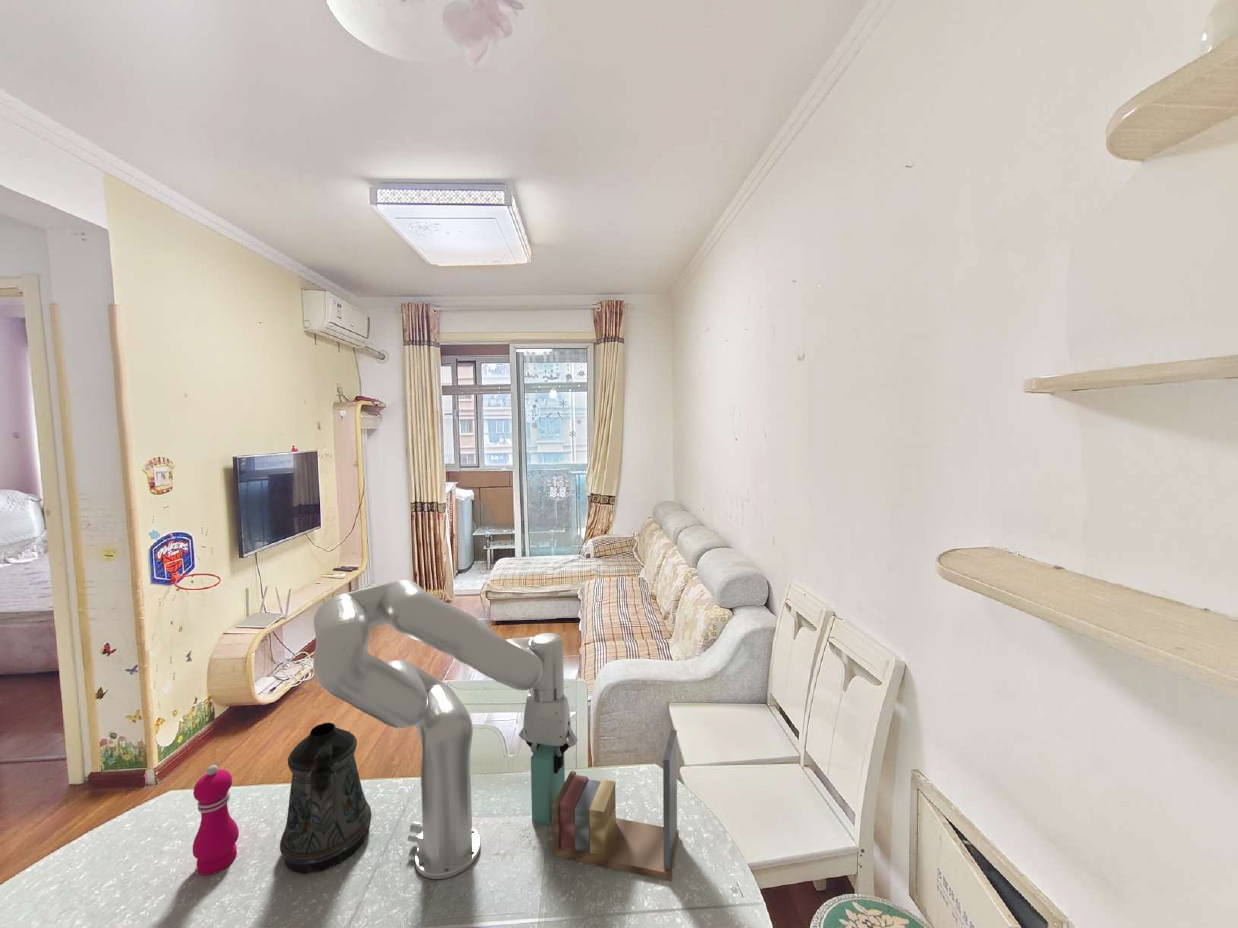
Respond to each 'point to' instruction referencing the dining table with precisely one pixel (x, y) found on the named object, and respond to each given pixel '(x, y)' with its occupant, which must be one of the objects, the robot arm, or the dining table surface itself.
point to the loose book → (545, 783)
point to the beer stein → (324, 802)
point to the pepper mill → (214, 822)
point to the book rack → (605, 831)
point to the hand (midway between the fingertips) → (548, 767)
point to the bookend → (670, 798)
